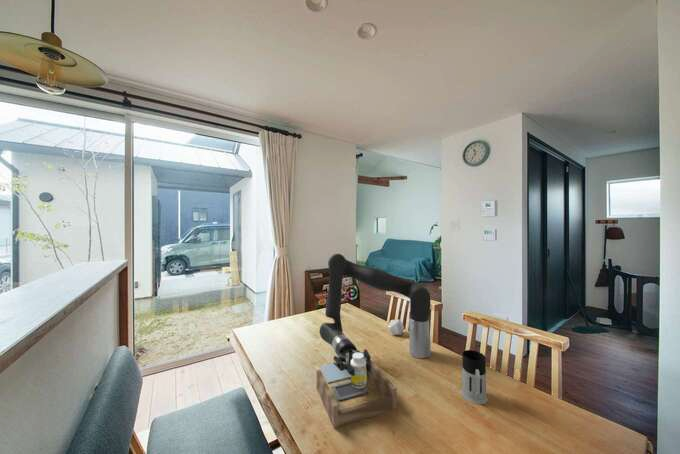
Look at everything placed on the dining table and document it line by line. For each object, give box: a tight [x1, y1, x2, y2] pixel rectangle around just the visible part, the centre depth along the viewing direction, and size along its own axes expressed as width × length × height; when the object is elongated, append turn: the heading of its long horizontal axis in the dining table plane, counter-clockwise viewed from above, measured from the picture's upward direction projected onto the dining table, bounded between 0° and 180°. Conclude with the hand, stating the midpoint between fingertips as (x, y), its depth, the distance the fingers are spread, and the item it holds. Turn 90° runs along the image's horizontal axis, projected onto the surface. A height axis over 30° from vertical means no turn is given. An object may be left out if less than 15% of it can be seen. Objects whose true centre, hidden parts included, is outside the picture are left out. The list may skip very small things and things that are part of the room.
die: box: [388, 319, 405, 336], centre depth 143 cm, size 8×9×10 cm
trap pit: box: [331, 380, 370, 402], centre depth 96 cm, size 8×12×1 cm, turn 110°
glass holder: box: [460, 349, 489, 405], centre depth 90 cm, size 9×14×15 cm, turn 161°
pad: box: [319, 362, 351, 384], centre depth 108 cm, size 12×13×1 cm
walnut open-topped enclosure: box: [315, 358, 398, 429], centre depth 92 cm, size 20×23×7 cm
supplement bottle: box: [350, 353, 368, 388], centre depth 88 cm, size 6×6×10 cm
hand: (361, 370), depth 86 cm, fingers closed on supplement bottle, 5 cm apart
